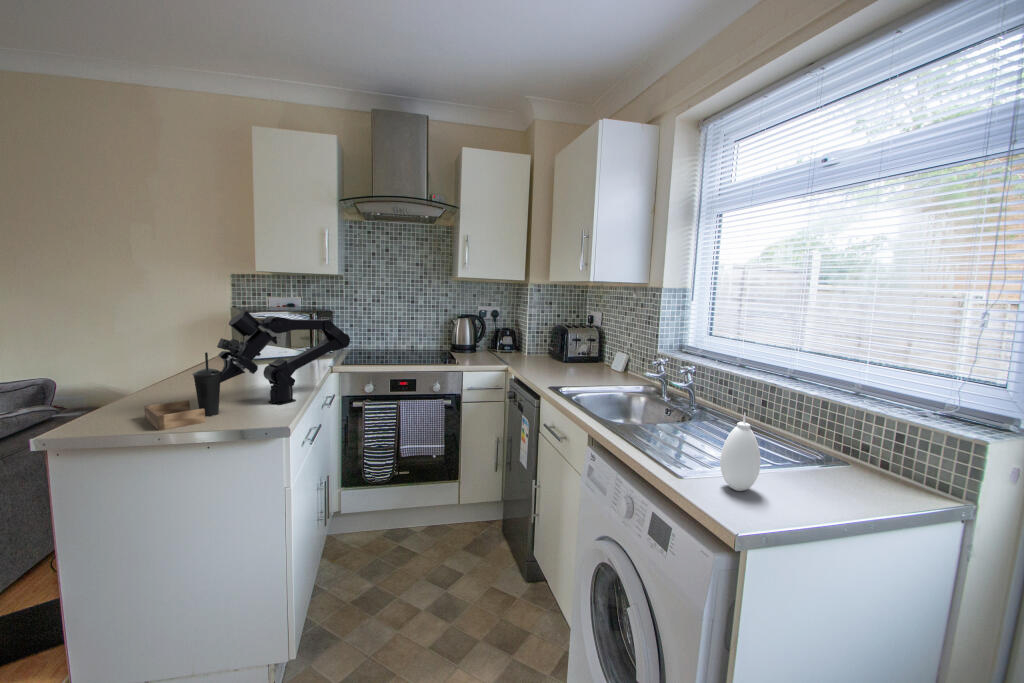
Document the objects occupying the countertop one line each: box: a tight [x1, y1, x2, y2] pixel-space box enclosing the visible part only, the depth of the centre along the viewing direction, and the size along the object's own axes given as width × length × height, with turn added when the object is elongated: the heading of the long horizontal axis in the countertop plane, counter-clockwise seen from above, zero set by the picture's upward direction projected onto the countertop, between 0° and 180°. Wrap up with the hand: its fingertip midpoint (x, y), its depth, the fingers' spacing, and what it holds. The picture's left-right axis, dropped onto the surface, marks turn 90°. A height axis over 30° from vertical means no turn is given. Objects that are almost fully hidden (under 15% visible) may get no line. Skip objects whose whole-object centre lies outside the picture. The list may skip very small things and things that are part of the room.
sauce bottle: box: [719, 411, 762, 492], centre depth 100 cm, size 8×8×18 cm
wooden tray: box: [143, 399, 206, 431], centre depth 135 cm, size 11×15×4 cm
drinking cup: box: [192, 352, 222, 417], centre depth 141 cm, size 8×8×20 cm
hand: (217, 382), depth 143 cm, fingers closed
